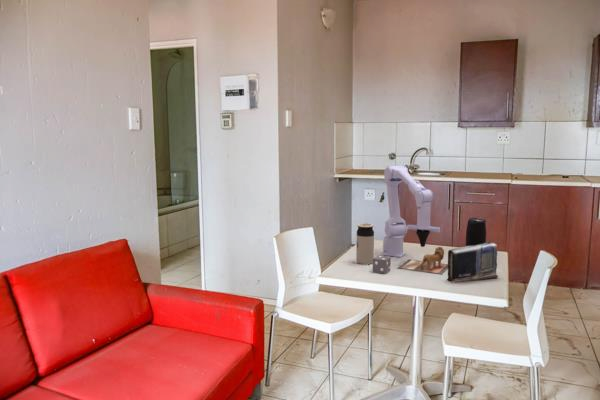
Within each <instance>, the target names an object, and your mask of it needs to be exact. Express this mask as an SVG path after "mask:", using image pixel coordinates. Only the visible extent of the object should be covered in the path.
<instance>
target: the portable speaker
mask: <svg viewBox="0 0 600 400" xmlns="http://www.w3.org/2000/svg"><path fill="white" fill-rule="evenodd" d="M486 222H487V221H486V219H485V218H477V217H469V218H468V220H467V224H466V230H465V231H466V232H465V246H472V245H473V246H474V245H478V244H483V243H487V225H486V224H487V223H486Z"/></svg>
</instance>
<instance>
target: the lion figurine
mask: <svg viewBox="0 0 600 400" xmlns="http://www.w3.org/2000/svg"><path fill="white" fill-rule="evenodd" d="M444 255H445V250H444V248H443V247H442V246H437V247H436V248H435V251H434V253H433V254H429V253H428V254H427V253H426V254H425V255H424V256H423V257H422V260H421V261H422V264H421V267H420V269H422V270H423V265H424V264H425V262H427V264H428V266H427V267H428V268H429V270H432V268H430V264H431V262H433V263H434V264H433V267H436V263H438V267H439V268H441V267H440V264H441V263H442V260H443V259H444Z"/></svg>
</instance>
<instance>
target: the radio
mask: <svg viewBox="0 0 600 400" xmlns="http://www.w3.org/2000/svg"><path fill="white" fill-rule="evenodd" d="M497 259H498V245H497V244H496V243H495V242H492V241H491V240H490V241H488V242H486V243H483V244H478V245H474V246H473V245H472V246H466V245H465V246H461V247H454V248H450V249H449V250H448V251H447V264H448V269H447V278H446V280H447V281H448V282H450V284H452V283H453V284H454V283H462V282H463V283H464V282H471V281H478V280H487V279H495V278H499V275H498V273H497V267H498V263H497V261H498V260H497Z"/></svg>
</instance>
